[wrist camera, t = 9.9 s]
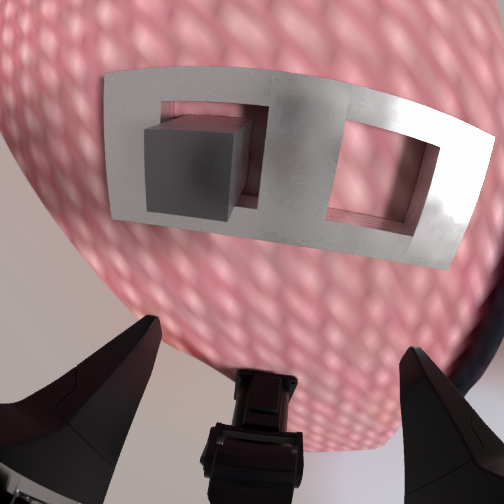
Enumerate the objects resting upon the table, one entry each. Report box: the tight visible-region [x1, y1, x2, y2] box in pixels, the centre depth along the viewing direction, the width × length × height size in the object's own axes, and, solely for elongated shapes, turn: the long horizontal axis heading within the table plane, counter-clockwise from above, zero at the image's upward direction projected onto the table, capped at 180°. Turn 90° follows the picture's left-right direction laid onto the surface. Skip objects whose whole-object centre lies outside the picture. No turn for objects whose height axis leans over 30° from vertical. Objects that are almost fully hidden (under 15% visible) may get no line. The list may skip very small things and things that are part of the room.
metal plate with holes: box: [104, 66, 494, 270], centre depth 16 cm, size 10×24×2 cm, turn 84°
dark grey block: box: [144, 115, 253, 222], centre depth 15 cm, size 4×4×6 cm
